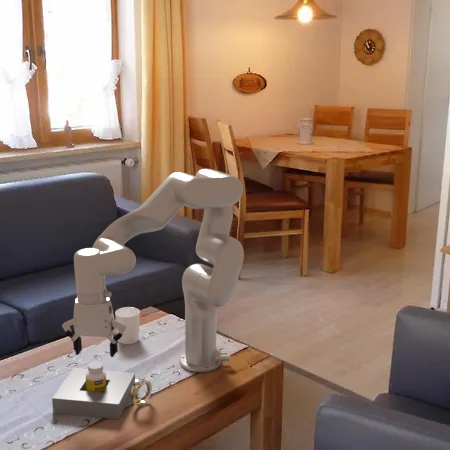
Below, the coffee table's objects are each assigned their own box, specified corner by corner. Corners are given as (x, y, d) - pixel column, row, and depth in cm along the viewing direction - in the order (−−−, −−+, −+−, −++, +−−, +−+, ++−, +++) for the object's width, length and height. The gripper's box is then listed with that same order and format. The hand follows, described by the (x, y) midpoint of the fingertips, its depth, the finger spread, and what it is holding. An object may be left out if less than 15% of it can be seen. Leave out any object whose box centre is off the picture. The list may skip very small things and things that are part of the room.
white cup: (127, 332, 213) (127, 304, 211) (145, 338, 209) (144, 311, 206) (111, 340, 207) (110, 312, 204) (128, 347, 203) (127, 319, 200)
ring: (135, 412, 168) (134, 386, 166) (127, 407, 170) (126, 381, 168) (155, 402, 173) (154, 376, 171) (147, 397, 175) (146, 372, 173)
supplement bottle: (95, 404, 170) (93, 372, 167) (82, 397, 173) (80, 365, 171) (110, 396, 174) (109, 364, 171) (98, 389, 177) (96, 358, 174)
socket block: (135, 387, 180) (134, 373, 179) (119, 419, 165) (118, 404, 164) (74, 381, 182) (73, 367, 181) (53, 413, 167) (52, 398, 166)
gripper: (127, 291, 167) (131, 348, 173) (65, 288, 170) (70, 344, 175) (119, 303, 160) (123, 362, 166) (54, 299, 163) (60, 358, 168)
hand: (96, 353), depth 170 cm, fingers open, 9 cm apart
